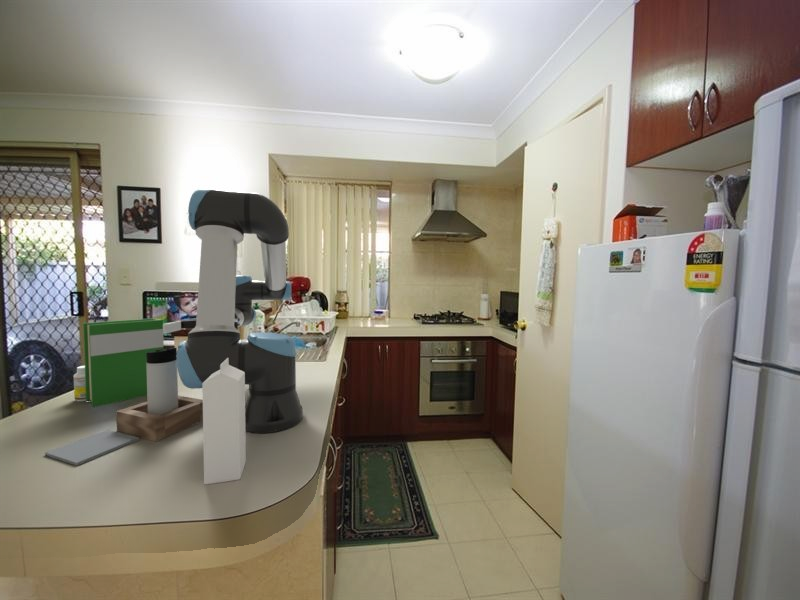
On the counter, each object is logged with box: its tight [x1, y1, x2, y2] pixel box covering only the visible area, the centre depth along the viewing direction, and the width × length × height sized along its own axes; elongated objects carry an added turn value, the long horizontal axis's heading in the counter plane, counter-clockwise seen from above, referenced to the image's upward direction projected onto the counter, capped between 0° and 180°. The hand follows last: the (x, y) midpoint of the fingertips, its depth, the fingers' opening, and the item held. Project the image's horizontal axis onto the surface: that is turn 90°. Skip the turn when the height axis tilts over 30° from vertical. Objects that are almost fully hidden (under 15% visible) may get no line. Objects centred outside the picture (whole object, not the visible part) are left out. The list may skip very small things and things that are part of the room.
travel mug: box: [146, 347, 179, 415], centre depth 80 cm, size 6×7×20 cm
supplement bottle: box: [73, 364, 86, 402], centre depth 97 cm, size 6×6×10 cm
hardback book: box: [82, 317, 165, 408], centre depth 100 cm, size 18×7×24 cm, turn 145°
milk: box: [201, 358, 247, 485], centre depth 60 cm, size 6×6×22 cm
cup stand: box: [115, 394, 203, 442], centre depth 81 cm, size 14×13×5 cm
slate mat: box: [44, 429, 139, 466], centre depth 70 cm, size 11×11×1 cm
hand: (188, 329), depth 90 cm, fingers open, 13 cm apart
